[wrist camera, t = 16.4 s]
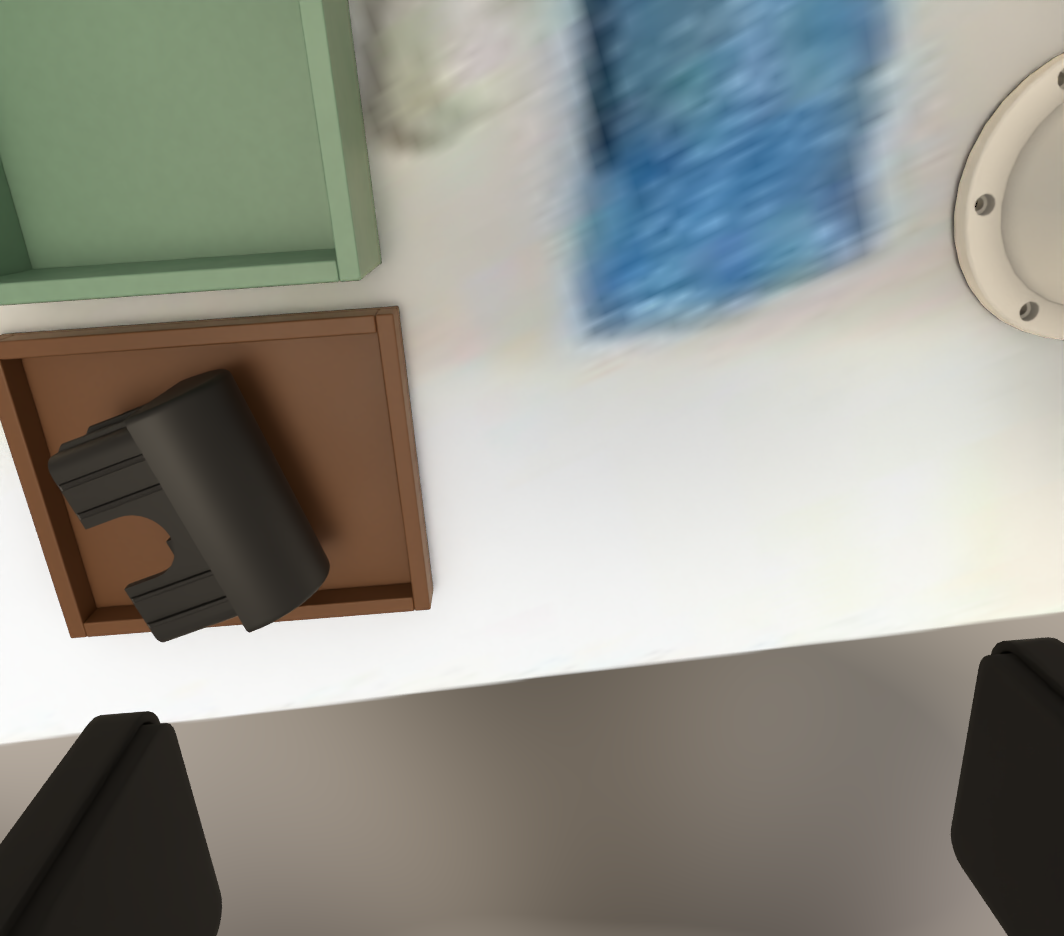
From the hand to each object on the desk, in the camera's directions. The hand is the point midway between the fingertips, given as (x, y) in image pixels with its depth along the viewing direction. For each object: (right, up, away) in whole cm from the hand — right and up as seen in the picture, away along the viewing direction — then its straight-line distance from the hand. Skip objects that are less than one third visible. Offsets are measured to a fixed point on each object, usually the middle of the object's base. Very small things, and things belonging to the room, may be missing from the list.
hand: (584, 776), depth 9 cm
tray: (-15, +3, +28) cm, 32 cm away
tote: (-16, +19, +22) cm, 33 cm away
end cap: (-15, +3, +28) cm, 32 cm away
